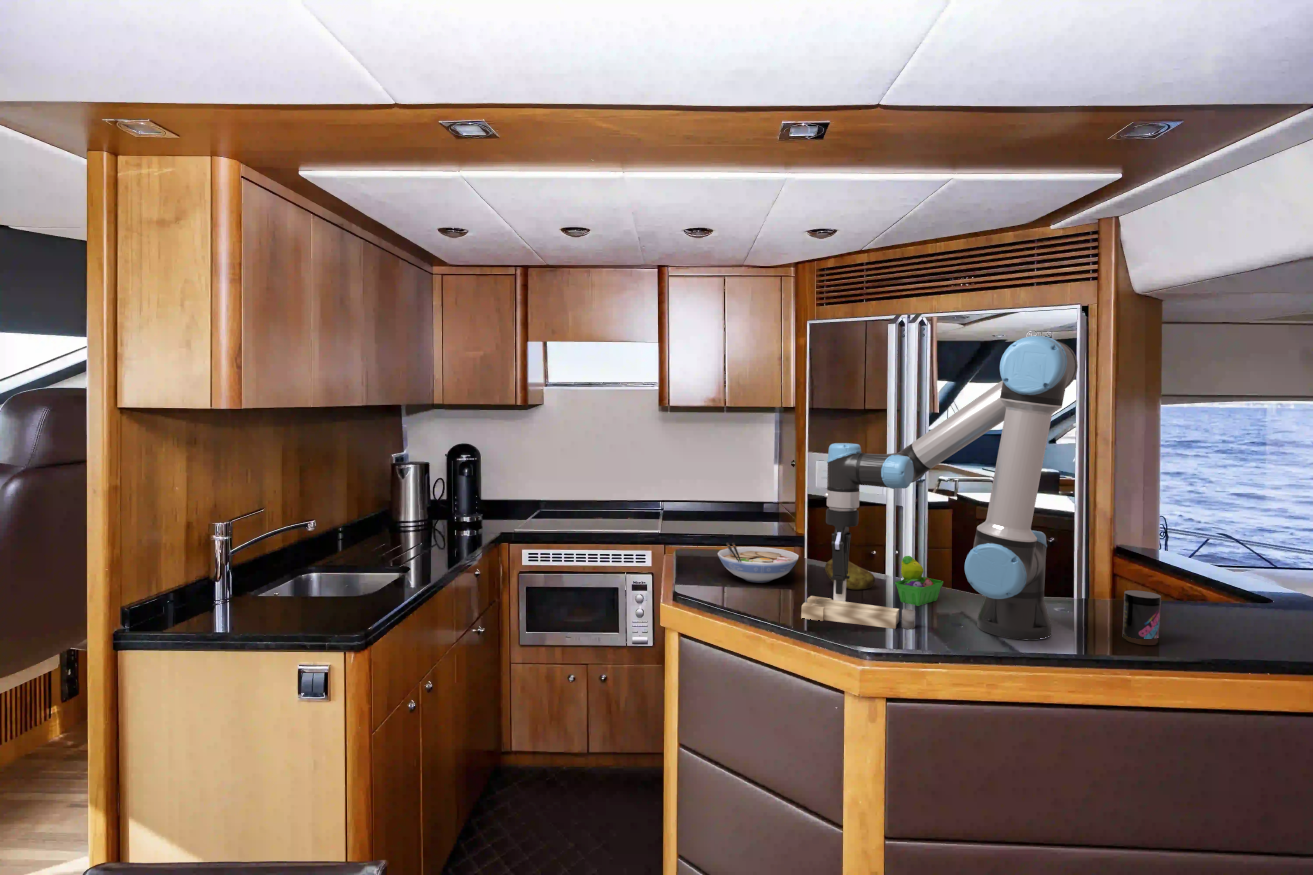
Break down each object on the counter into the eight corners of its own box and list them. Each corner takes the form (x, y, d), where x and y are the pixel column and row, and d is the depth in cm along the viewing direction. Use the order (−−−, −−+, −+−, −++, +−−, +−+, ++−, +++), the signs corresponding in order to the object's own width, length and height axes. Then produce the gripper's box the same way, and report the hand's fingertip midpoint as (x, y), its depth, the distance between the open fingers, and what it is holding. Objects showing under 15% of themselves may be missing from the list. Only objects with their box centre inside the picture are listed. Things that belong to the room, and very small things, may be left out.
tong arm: (899, 620, 181) (899, 607, 181) (896, 624, 178) (897, 611, 178) (810, 607, 191) (811, 595, 191) (806, 610, 188) (807, 598, 188)
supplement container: (1132, 646, 166) (1134, 597, 165) (1115, 636, 173) (1118, 589, 172) (1165, 647, 166) (1168, 598, 165) (1147, 637, 172) (1150, 590, 172)
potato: (870, 594, 207) (871, 564, 206) (821, 588, 212) (822, 559, 212) (876, 587, 214) (877, 558, 214) (829, 582, 220) (830, 553, 219)
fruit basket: (920, 608, 194) (922, 562, 193) (889, 600, 200) (890, 557, 200) (944, 600, 201) (945, 557, 201) (912, 594, 208) (914, 551, 207)
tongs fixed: (915, 626, 178) (915, 609, 177) (913, 632, 173) (913, 615, 173) (805, 613, 187) (805, 597, 187) (801, 618, 183) (801, 602, 182)
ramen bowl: (806, 591, 208) (806, 561, 208) (719, 590, 209) (720, 559, 208) (791, 571, 233) (791, 543, 233) (714, 569, 234) (714, 542, 233)
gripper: (831, 503, 193) (828, 598, 195) (821, 510, 181) (818, 611, 183) (862, 506, 190) (859, 601, 192) (854, 513, 179) (851, 615, 180)
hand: (839, 606), depth 187 cm, fingers closed
